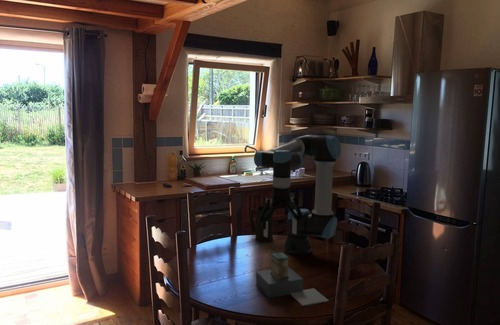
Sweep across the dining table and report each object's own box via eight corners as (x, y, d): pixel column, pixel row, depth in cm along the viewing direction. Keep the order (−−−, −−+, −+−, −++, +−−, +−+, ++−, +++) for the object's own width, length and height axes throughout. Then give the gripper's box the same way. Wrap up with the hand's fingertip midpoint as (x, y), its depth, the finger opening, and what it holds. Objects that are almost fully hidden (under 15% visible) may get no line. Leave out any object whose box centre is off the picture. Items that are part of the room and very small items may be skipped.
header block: (288, 279, 189) (288, 267, 188) (302, 292, 176) (303, 279, 175) (256, 284, 183) (256, 271, 183) (268, 297, 170) (269, 284, 170)
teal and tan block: (281, 284, 184) (281, 252, 182) (287, 290, 178) (288, 257, 176) (270, 286, 182) (271, 253, 180) (277, 292, 176) (277, 258, 174)
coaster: (313, 289, 179) (313, 288, 179) (328, 301, 168) (328, 300, 168) (289, 293, 175) (289, 292, 175) (302, 306, 164) (302, 304, 164)
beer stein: (276, 238, 248) (274, 205, 246) (271, 243, 238) (269, 209, 236) (252, 236, 254) (250, 205, 251) (246, 242, 244) (244, 209, 241)
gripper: (303, 183, 182) (301, 229, 184) (250, 186, 173) (250, 235, 175) (311, 186, 175) (309, 234, 177) (257, 189, 166) (256, 240, 168)
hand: (280, 235), depth 176 cm, fingers open, 13 cm apart
